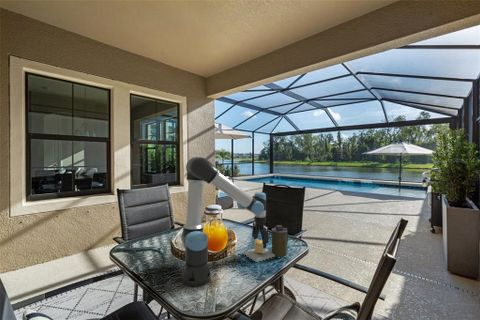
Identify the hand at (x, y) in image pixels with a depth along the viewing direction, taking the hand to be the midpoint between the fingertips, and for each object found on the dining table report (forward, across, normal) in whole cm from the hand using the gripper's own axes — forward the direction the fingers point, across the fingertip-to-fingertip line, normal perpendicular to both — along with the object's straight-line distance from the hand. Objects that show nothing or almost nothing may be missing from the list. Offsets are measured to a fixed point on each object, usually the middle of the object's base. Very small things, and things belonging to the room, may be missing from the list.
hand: (259, 250), depth 146 cm
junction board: (+3, 0, 0) cm, 3 cm away
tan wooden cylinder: (0, 0, 0) cm, 0 cm away
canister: (+4, -6, -12) cm, 14 cm away
